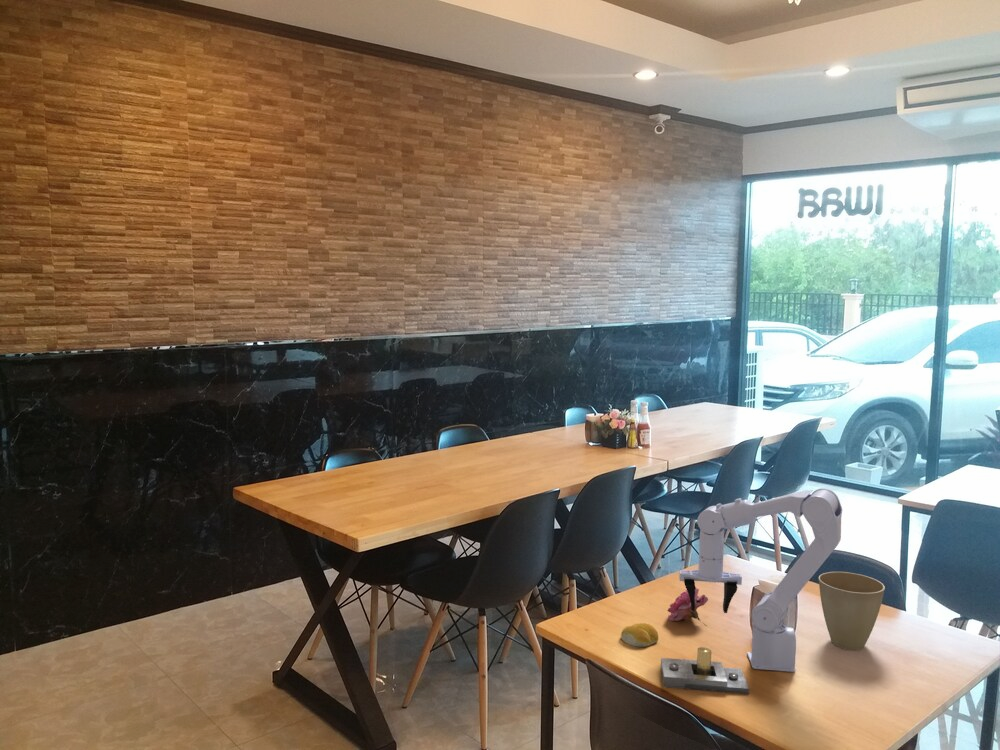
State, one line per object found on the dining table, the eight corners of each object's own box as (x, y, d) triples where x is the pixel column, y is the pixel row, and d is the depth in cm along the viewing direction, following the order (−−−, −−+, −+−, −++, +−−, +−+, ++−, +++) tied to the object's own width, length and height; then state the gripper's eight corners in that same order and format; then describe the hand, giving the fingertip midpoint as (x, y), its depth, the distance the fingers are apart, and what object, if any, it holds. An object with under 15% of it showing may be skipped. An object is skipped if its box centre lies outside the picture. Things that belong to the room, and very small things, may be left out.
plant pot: (894, 653, 186) (899, 589, 184) (845, 661, 182) (849, 596, 180) (849, 627, 200) (853, 568, 199) (802, 634, 196) (805, 574, 194)
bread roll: (664, 641, 191) (665, 626, 191) (639, 650, 186) (639, 635, 186) (640, 629, 198) (640, 614, 197) (615, 638, 193) (615, 623, 192)
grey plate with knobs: (741, 673, 175) (741, 661, 174) (748, 694, 166) (749, 680, 165) (660, 667, 177) (661, 655, 177) (663, 687, 168) (664, 674, 168)
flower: (663, 632, 204) (657, 594, 209) (697, 631, 206) (690, 594, 211) (681, 622, 194) (674, 583, 199) (717, 622, 196) (709, 583, 201)
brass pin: (708, 677, 173) (710, 647, 172) (711, 684, 170) (712, 653, 169) (695, 676, 173) (696, 647, 172) (697, 683, 170) (698, 653, 169)
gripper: (682, 560, 182) (679, 614, 184) (744, 563, 180) (742, 619, 182) (679, 550, 189) (677, 603, 191) (739, 553, 187) (737, 607, 189)
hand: (708, 610), depth 187 cm, fingers open, 7 cm apart
